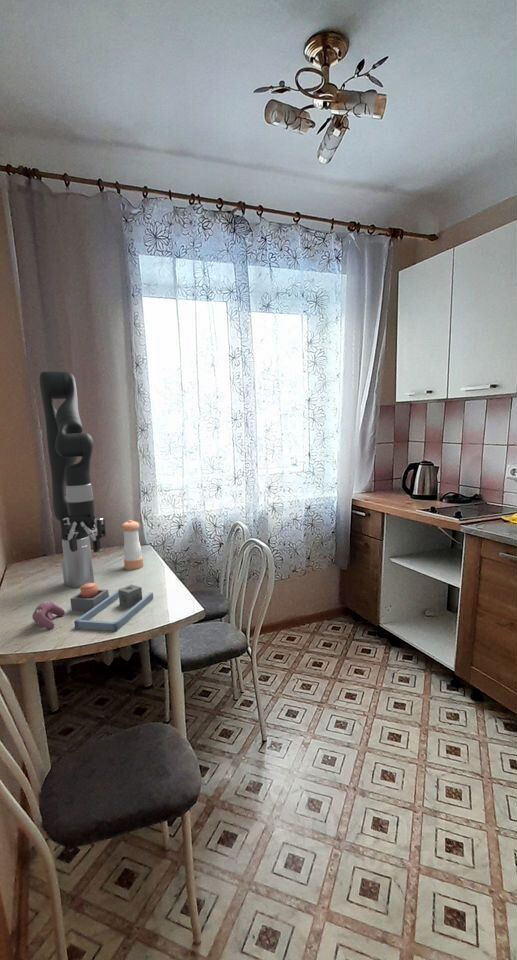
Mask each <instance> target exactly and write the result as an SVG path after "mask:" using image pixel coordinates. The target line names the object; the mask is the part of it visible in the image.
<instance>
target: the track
mask: <svg viewBox="0 0 517 960" xmlns="http://www.w3.org/2000/svg"><path fill="white" fill-rule="evenodd" d="M153 599H154V593H153V592H149V593H148V594H147V595H145V596H144V597H142V600H141V601H139V602H138V603H137V604H136V605H135V606H133V607H131V608H129V609H128V610H127V611H126V612H125V613H123V614H122V615H121V616H120V617H119V618H118V619H117V620H115V621H103V620H92V619H93V618H94V617H95V616H97V615H98V614H100V613H101V612H102V611H104V609H106V608H107V607H109V606H110V605H111V604H113V603H114V602H116V600H119V592H118V590H117V591H115V592H113V593H112V594H111V595H110V594H109V597H108V598H106V599H105V600H103V601H102V602H101V603H99V604H98V605H96V606H95V607H94V608H92V609H91V610H89V611H88V612H84V614H82V615H81V616H80V617H78V618H77V619H75V620H74V628H75V629H85V630H86V629H87V630H88V629H89V630H98V631H99V630H102V631H113V632H115V631H116V632H117V631H118V630H119V629H120V628H121V627H124V625H125V624H126V623H128V622H129V620H131V618H133V617H134V616H136V615H137V614H138V613H139V612H140V611H141V610H142V609H143V608H145V607H146V606H147V605H148V604H149V603H150V602H152V601H153ZM146 604H147V605H146Z"/></svg>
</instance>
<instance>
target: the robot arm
mask: <svg viewBox="0 0 517 960" xmlns="http://www.w3.org/2000/svg"><path fill="white" fill-rule="evenodd" d="M39 388H40V395H41V400H42V407H43V412H44V413H43V414H44V418H45V419H44V420H45V427H46V440H47V441H46V442H47V443H46V444H47V450H48V451H47V452H48V460H49V465H50V474H51V487H52V488H51V489H52V491H51V492H52V493H51V494H52V507H53V510H52V511H53V515H54V517H55V519H56V520H57V521H59V522H60V527H61V529H60V530H61V533H60V537H61V546H62V552H63V558H62V559H61V569H62V579H63V584H64V585H63V586H67V587H69V588H80V587H81V586H82V585H84V584H87V583H94V581H95V577H94V570H93V569H94V567H93V557H92V550H93V553H97V552H100V550H101V548H102V547H101V539H103V538H105V537H106V535H107V533H106V522H105V521H106V520H105V519H106V518H104V517H101V518H96V517H95V511H96V510H95V502H94V501H95V500H94V491H93V486H92V479H91V460H92V454H93V451H94V445H95V444H94V439H93V437H92V436H91V434H90V433H88V432H83V430H84V429H83V424H82V420H81V416H80V413H79V412H80V411H79V400H78V390H77V388H78V387H77V382H76V377H75V376H74V374H73V373H71V372H69V371H49V370H47V371H41V372H40V375H39ZM53 400H64V401H63V402H62V403H61V405H60V406H58V408H57V409H56V407H55V403H54V402H53ZM78 457H81V459H80V461H79V462H77V459H78ZM76 462H77V463H76ZM65 487H66V488H65ZM65 489H66V490H65ZM90 539H92V548H91V540H90ZM91 549H92V550H91Z"/></svg>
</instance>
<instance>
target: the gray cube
mask: <svg viewBox="0 0 517 960" xmlns="http://www.w3.org/2000/svg"><path fill="white" fill-rule="evenodd" d="M142 590H143V589H142V587H141V586H140V585H139V586H138V585H134V584H128V585H126V586H124V587H122V588H119V589H118V590H117V591H118V592H119V598H118V602H119V605H120V606H123V607H126V608H129V609H131V608H132V607H133V606H135V605H136V604H137V603H138V602H139V601H141V600H142V599H143V592H142Z"/></svg>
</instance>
